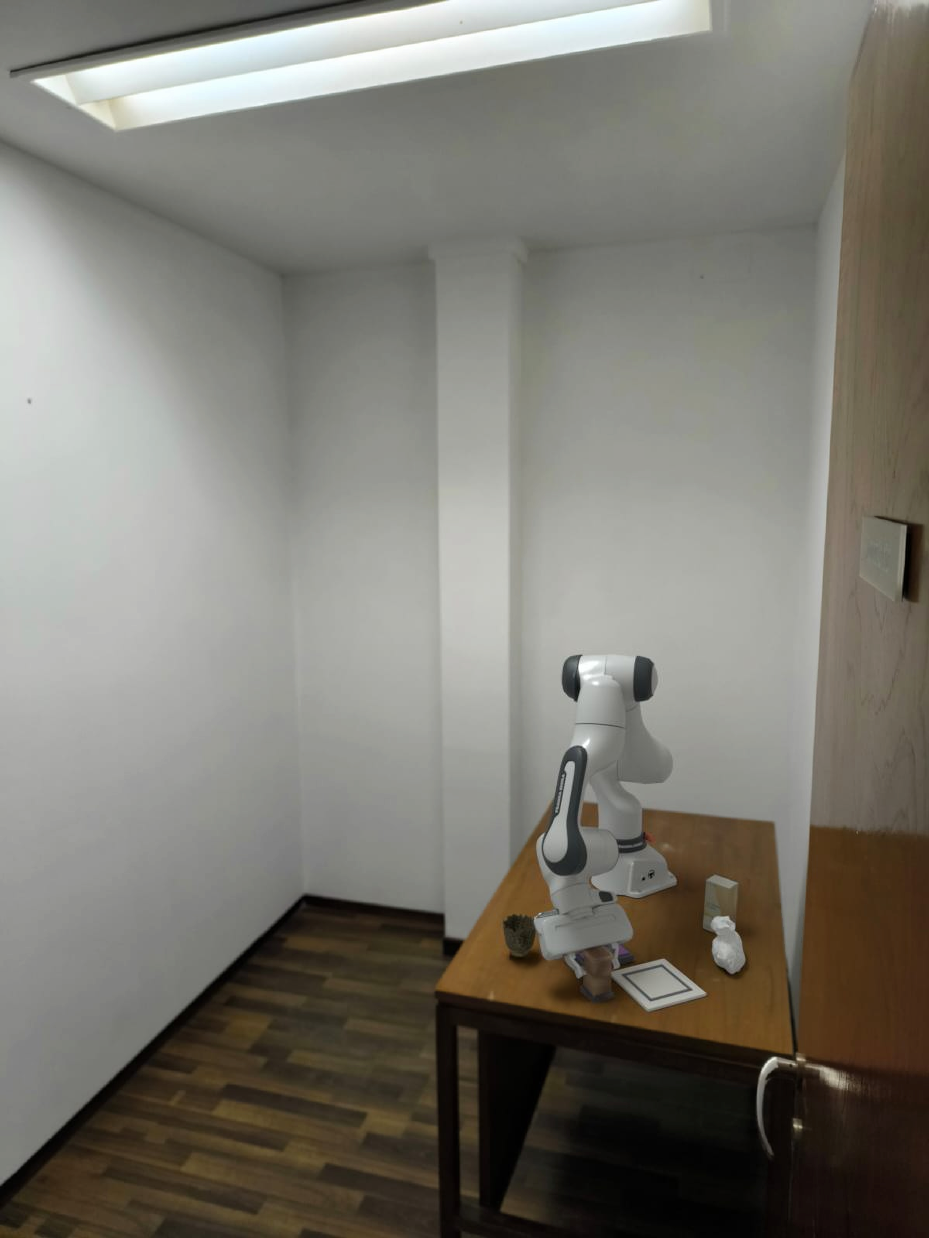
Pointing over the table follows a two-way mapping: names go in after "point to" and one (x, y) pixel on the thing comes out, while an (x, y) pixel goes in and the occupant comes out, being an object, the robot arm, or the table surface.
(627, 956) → the ink pad
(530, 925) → the cup
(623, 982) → the print card
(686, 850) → the table surface
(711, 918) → the skincare box
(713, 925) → the bust
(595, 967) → the stamp
